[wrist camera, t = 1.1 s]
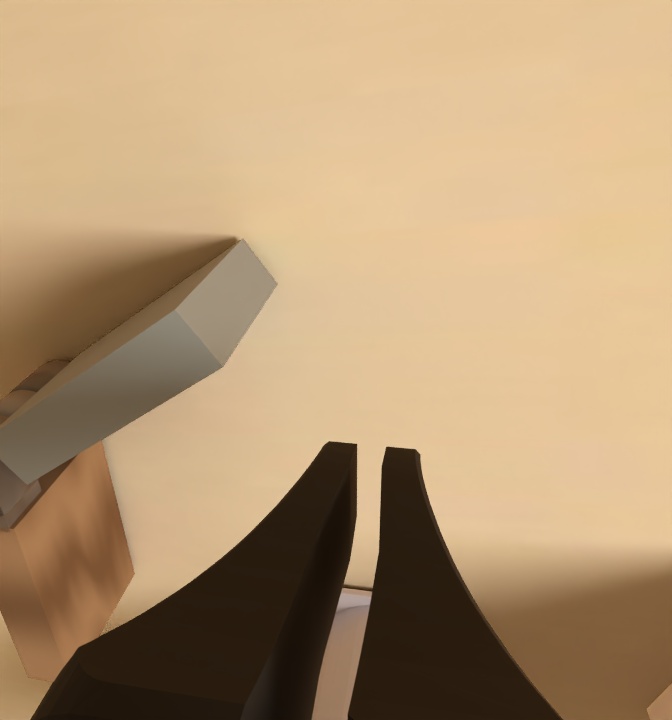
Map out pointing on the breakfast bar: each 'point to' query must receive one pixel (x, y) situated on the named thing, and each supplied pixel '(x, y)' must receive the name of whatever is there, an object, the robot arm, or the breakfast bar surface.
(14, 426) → the swing leaf
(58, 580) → the fixed leaf
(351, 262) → the breakfast bar surface
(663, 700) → the milk
